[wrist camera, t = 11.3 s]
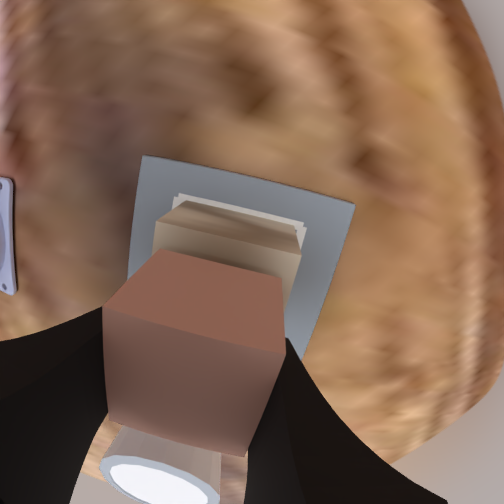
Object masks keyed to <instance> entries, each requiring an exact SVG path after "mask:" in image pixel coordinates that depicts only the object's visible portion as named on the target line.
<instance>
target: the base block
mask: <svg viewBox="0 0 504 504" xmlns="http://www.w3.org/2000/svg"><path fill="white" fill-rule="evenodd" d="M160 248H161V249H165V250H169V251H173V252H177V253H181V254H185V255H189V256H193V257H197V258H201V259H205V260H209V261H213V262H217V263H221V264H225V265H229V266H233V267H238V268H242V269H246V270H250V271H254V272H258V273H263V274H267V275H271V276H275V277H279V278H282V294H283V310H284V311H285V308H286V305H287V302H288V299H289V296H290V292H291V289H292V286H293V283H294V280H295V276H296V273H297V270H298V266H299V263H300V260H301V257H302V255H301V251H300V247H299V243H298V239H297V235H296V231H295V227H294V225H290V224H286V223H282V222H278V221H274V220H270V219H266V218H261V217H257V216H253V215H249V214H245V213H241V212H236V211H232V210H228V209H223V208H219V207H215V206H210V205H206V204H201V203H197V202H192V201H188V200H186V201H184V202H183V203H181V204H180V205H178V206H177V207H175V208H174V209H172V210H171V211H170V212H168V213H167V214H165V215H164V216H162V217H161V218H160V219H158V220H157V221H156V224H155V232H154V239H153V247H152V256H153V255H154V254H155V253H156V252H157V251H158V250H159V249H160ZM152 256H151V257H152Z"/></svg>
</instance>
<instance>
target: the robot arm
mask: <svg viewBox="0 0 504 504" xmlns="http://www.w3.org/2000/svg"><path fill="white" fill-rule="evenodd" d="M12 204H13V183H12V181H11V179H9V178H4V177H0V290H1V291H3V292H5V293H7V294H9V295H13V294H15V293H16V291H17V288H16V279H15V268H14V254H13V229H12ZM285 345H286V356H285V359H284V361H283V364H282V366H281V369H280V372H279V374H278V377H277V379H276V382H275V385H274V387H273V390H272V392H271V395H270V397H269V400H268V402H267V405H266V407H265V410H264V412H263V414H262V417H261V419H260V422H259V424H258V426H257V429H256V431H255V434H254V436H253V438H252V441H251V443H250V445H249V447H248V472H247V484H246V491H245V499H244V504H448V502H447V500H445V499H443V498H441V497H440V496H438V495H436V494H434V493H432V492H430V491H428V490H427V489H424V488H423V487H421V486H420V485H418V484H416V483H414V482H413V481H411V480H409V479H408V478H407V477H405V476H404V475H402V474H401V473H400V472H398V471H397V470H395V469H394V468H392V467H391V466H390V465H389V464H387V463H386V462H385V461H384V460H382V459H381V458H380V457H379V456H378V455H376V454H375V453H374V452H373V451H372V450H371V449H370V448H369V447H368V446H366V445H365V444H364V443H363V442H362V441H361V440H360V439H359V438H358V437H357V436H356V435H355V434H354V433H353V432H352V431H351V430H350V429H349V427H348V426H347V425H346V424H345V423H344V422H343V421H342V420H341V419H340V417H339V416H338V415H337V414H336V413H335V411H334V410H333V409H332V408H331V406H330V405H329V403H328V402H327V401H326V399H325V398H324V397H323V395H322V394H321V392H320V391H319V390H318V388H317V386H316V385H315V383H314V382H313V380H312V378H311V377H310V375H309V374H308V372H307V370H306V369H305V367H304V365H303V363H302V362H301V360H300V358H299V356H298V354H297V353H296V351H295V349H294V347H293V345H292V343H291V342H290V340H289V338H286V337H285ZM107 413H108V405H107V396H106V385H105V371H104V354H103V322H102V307H100V308H97V309H95V310H93V311H91V312H88V313H86V314H84V315H82V316H79V317H77V318H75V319H72V320H70V321H67V322H65V323H62V324H59V325H57V326H54V327H52V328H49V329H46V330H43V331H40V332H37V333H34V334H30V335H27V336H23V337H19V338H15V339H11V340H5V341H0V504H69V503H70V500H71V496H72V493H73V490H74V487H75V484H76V481H77V478H78V476H79V473H80V470H81V467H82V465H83V462H84V460H85V457H86V455H87V452H88V450H89V448H90V445H91V443H92V440H93V438H94V436H95V434H96V432H97V430H98V428H99V427H100V425H101V423H102V422H103V420H104V418H105V417H106V415H107Z"/></svg>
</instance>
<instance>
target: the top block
mask: <svg viewBox="0 0 504 504" xmlns="http://www.w3.org/2000/svg"><path fill="white" fill-rule="evenodd" d="M102 322H103V354H104V371H105V385H106V396H107V405H108V414H109V420H110V421H113V422H116V423H118V424H121V425H124V426H127V427H130V428H133V429H135V430H138V431H141V432H145V433H148V434H151V435H154V436H157V437H161V438H164V439H167V440H171V441H175V442H178V443H182V444H186V445H190V446H194V447H198V448H202V449H206V450H211V451H215V452H220V453H225V454H230V455H235V456H241V457H245V454H246V452H247V450H248V447H249V445H250V443H251V441H252V438H253V436H254V434H255V431H256V429H257V426H258V424H259V422H260V419H261V417H262V414H263V412H264V410H265V407H266V405H267V402H268V400H269V397H270V395H271V392H272V390H273V387H274V385H275V382H276V379H277V377H278V374H279V372H280V369H281V366H282V364H283V361H284V359H285V356H286V345H285V327H284V310H283V294H282V278H279V277H275V276H271V275H267V274H263V273H258V272H254V271H250V270H246V269H242V268H238V267H233V266H229V265H225V264H221V263H217V262H213V261H209V260H205V259H201V258H197V257H193V256H189V255H185V254H181V253H177V252H173V251H169V250H165V249H161V248H160V249H159V250H158V251H157V252H156V253H155V254H154V255H153V256H152V257H150V258H149V259H148V260H147V261H146V262H145V263H144V264H143V265H142V266H141V267H140V268H139V269H138V270H137V271H136V272H135V273H134V274H133V275H132V276H131V277H130V278H129V279H128V280H127V281H126V282H125V283H124V284H123V285H122V286H121V287H120V288H119V290H118V291H117V292H116V293H115V294H114V295H113V296H112V297H111V298H110V299H109V300H108V301H107V302H106V303H105V304H104V305H103V306H102Z"/></svg>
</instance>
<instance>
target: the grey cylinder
mask: <svg viewBox="0 0 504 504" xmlns="http://www.w3.org/2000/svg"><path fill="white" fill-rule="evenodd" d="M99 469H100V471H101V473H102V474H103V476H104V478H105V479H106V480H107V481H108V482H109V483H110V484H111V485H112V486H113V487H114V488H115V489H117V490H118V491H120V492H121V493H123V494H125V495H126V496H128V497H130V498H131V499H133V500H135V501H137V502H140V503H143V504H219V499H220V472H221V453H220V452H215V451H211V450H206V449H202V448H198V447H194V446H190V445H186V444H182V443H178V442H175V441H171V440H167V439H164V438H161V437H157V436H154V435H151V434H148V433H145V432H141V431H138V430H135V429H133V428H130V427H127V426H124V425H123V426H122V428H121V429H120V431H119V432H118V434H117V436H116V437H115V439H114V440H113V442H112V444H111V445H110V447H109V448H108V450H107V452H106V453H105V455H104V457H103V458H102V460H101V463H100V466H99Z"/></svg>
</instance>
